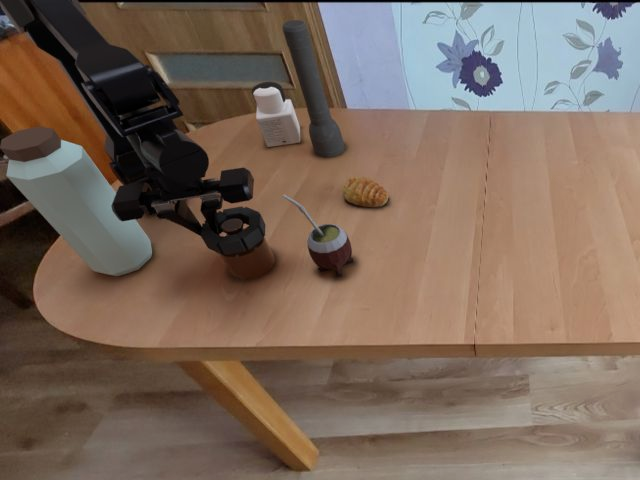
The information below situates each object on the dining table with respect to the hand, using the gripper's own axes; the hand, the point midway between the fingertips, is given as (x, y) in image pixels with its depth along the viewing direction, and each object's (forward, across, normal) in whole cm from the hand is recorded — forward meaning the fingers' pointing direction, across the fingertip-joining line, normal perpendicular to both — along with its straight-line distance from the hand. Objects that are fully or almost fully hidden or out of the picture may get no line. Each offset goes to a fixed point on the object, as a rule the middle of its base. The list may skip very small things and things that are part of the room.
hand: (210, 233), depth 78 cm
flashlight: (+9, -20, -35) cm, 41 cm away
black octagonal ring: (+1, -4, 0) cm, 4 cm away
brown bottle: (+8, -4, 0) cm, 9 cm away
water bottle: (+9, +18, -8) cm, 22 cm away
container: (+9, -10, -44) cm, 46 cm away
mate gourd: (+9, -18, +5) cm, 20 cm away
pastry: (+9, -26, -14) cm, 31 cm away
